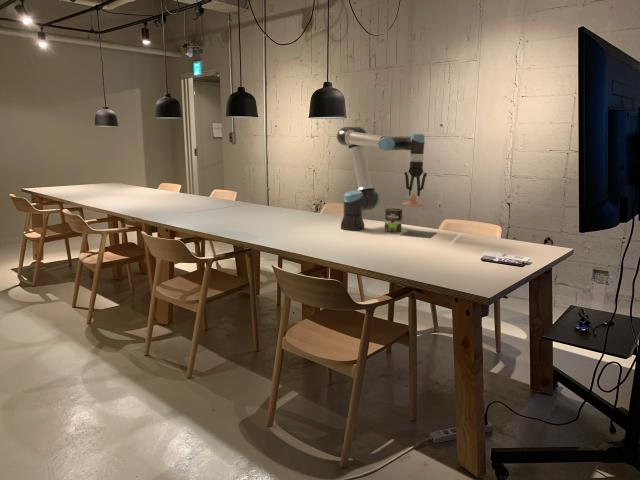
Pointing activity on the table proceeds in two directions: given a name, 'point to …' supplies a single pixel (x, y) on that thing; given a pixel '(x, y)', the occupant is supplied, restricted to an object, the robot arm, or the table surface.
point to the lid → (413, 202)
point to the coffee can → (393, 220)
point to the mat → (418, 234)
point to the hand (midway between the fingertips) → (413, 201)
